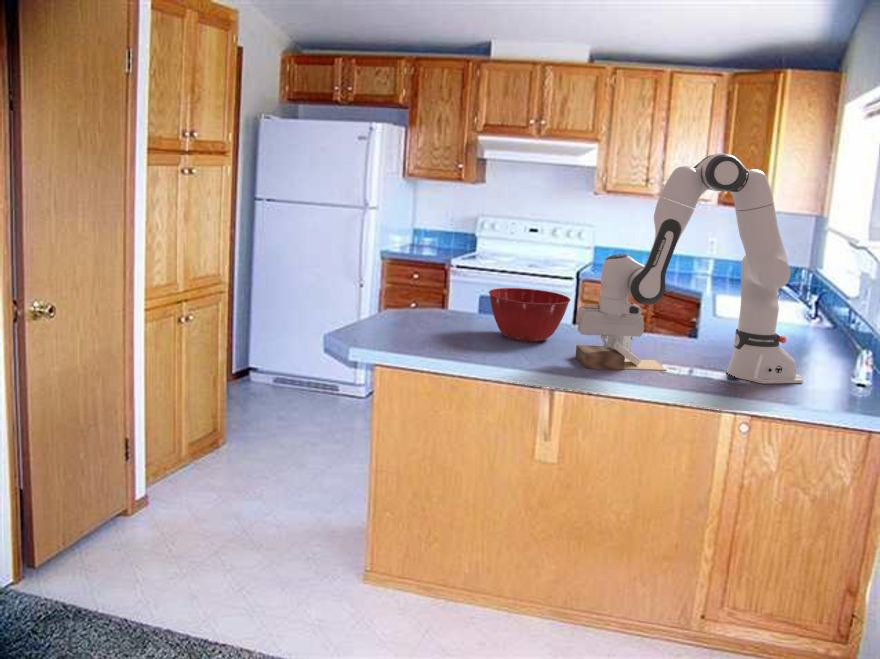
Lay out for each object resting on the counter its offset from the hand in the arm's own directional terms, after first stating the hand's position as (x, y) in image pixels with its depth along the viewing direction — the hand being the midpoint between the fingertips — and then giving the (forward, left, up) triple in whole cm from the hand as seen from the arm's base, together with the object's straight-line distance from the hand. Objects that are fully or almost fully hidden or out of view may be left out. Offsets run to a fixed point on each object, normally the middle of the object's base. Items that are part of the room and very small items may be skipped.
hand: (608, 349), depth 276 cm
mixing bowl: (+21, -32, -5) cm, 38 cm away
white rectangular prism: (-5, 0, -2) cm, 6 cm away
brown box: (+3, 0, -5) cm, 5 cm away
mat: (-10, 0, -5) cm, 11 cm away
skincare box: (-8, -17, -5) cm, 20 cm away
